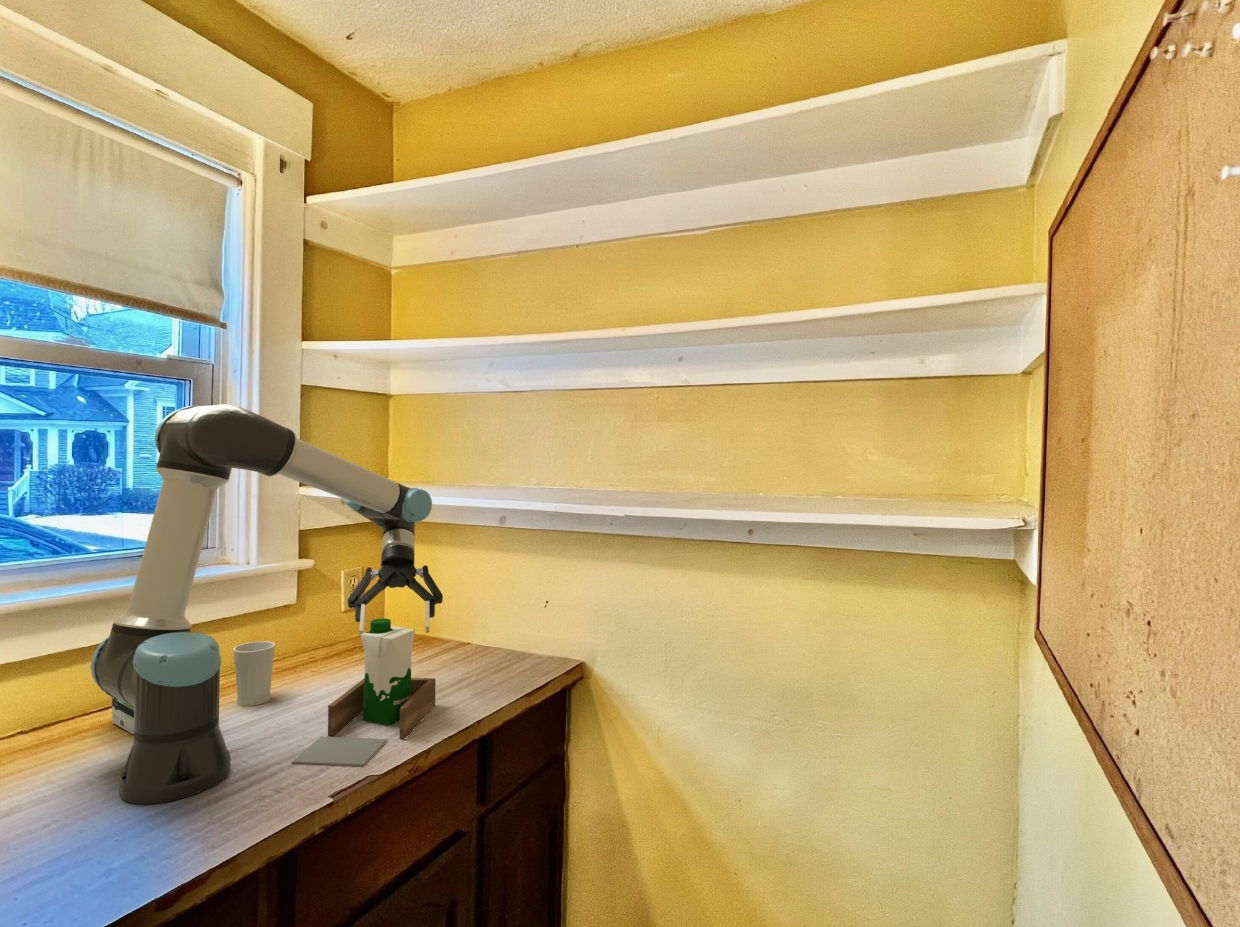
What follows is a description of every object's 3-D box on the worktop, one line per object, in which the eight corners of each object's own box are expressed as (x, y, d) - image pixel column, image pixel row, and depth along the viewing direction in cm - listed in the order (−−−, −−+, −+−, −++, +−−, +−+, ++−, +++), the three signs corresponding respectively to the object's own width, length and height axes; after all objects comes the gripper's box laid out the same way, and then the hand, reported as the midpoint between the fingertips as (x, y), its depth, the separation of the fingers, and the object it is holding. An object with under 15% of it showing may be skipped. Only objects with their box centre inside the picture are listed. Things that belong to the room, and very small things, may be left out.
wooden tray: (327, 736, 122) (328, 705, 122) (366, 703, 139) (366, 676, 139) (405, 739, 121) (405, 708, 121) (435, 705, 138) (435, 678, 138)
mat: (291, 763, 111) (291, 761, 111) (321, 738, 121) (321, 736, 121) (363, 766, 110) (363, 764, 110) (387, 741, 120) (387, 739, 120)
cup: (277, 692, 144) (278, 640, 144) (269, 705, 137) (270, 650, 137) (238, 695, 142) (238, 642, 142) (228, 709, 134) (228, 653, 134)
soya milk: (384, 706, 137) (386, 614, 137) (419, 712, 134) (420, 619, 134) (355, 721, 129) (356, 624, 129) (390, 729, 126) (392, 629, 126)
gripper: (451, 560, 158) (453, 636, 143) (343, 563, 150) (334, 644, 136) (452, 541, 153) (454, 619, 138) (340, 544, 145) (331, 626, 131)
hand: (394, 631), depth 137 cm, fingers open, 13 cm apart
